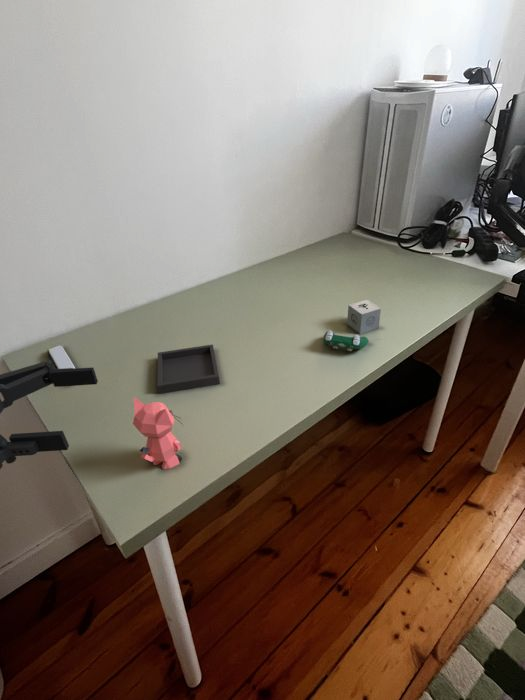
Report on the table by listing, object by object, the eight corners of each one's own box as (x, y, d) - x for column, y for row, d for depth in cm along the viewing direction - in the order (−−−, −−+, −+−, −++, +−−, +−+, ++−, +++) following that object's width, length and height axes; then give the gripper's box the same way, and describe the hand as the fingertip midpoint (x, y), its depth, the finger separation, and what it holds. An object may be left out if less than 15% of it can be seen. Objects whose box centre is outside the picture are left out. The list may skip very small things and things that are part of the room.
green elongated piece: (323, 348, 95) (318, 342, 89) (327, 332, 95) (322, 325, 90) (365, 356, 92) (363, 350, 86) (369, 338, 92) (367, 331, 87)
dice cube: (365, 318, 101) (366, 299, 98) (378, 328, 97) (380, 308, 95) (347, 324, 100) (348, 304, 97) (360, 334, 96) (361, 314, 93)
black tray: (159, 393, 82) (157, 386, 81) (159, 359, 91) (157, 352, 90) (220, 384, 83) (219, 376, 82) (213, 351, 93) (212, 344, 92)
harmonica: (48, 354, 95) (45, 346, 94) (62, 349, 97) (59, 341, 96) (65, 386, 85) (62, 378, 84) (81, 380, 87) (78, 372, 86)
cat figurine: (195, 453, 69) (184, 395, 62) (167, 485, 64) (151, 425, 57) (161, 439, 72) (147, 382, 65) (132, 468, 67) (113, 409, 60)
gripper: (-16, 380, 73) (110, 373, 73) (-117, 507, 53) (58, 496, 53) (-35, 343, 69) (98, 335, 69) (-153, 465, 48) (37, 453, 49)
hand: (81, 405), depth 61 cm, fingers open, 13 cm apart
